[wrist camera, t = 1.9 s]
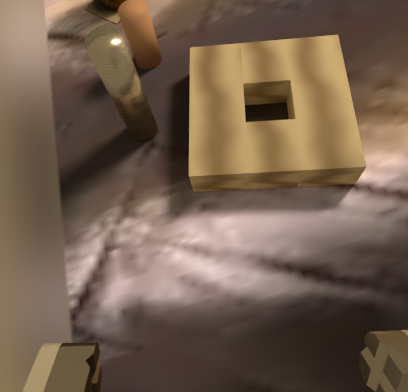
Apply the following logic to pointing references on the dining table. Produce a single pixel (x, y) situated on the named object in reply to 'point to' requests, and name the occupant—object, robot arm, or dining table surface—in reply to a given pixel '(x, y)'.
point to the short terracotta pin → (140, 33)
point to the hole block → (277, 129)
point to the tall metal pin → (121, 80)
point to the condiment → (106, 9)
